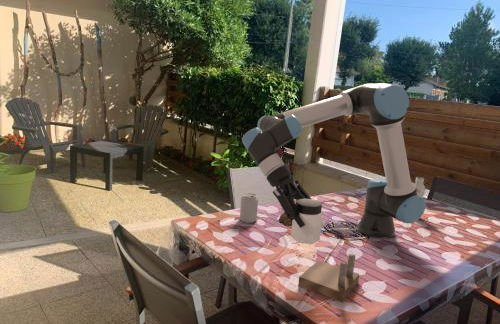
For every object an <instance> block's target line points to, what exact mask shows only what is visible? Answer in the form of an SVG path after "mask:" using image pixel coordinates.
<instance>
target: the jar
mask: <svg viewBox="0 0 500 324" xmlns="http://www.w3.org/2000/svg"><path fill="white" fill-rule="evenodd" d="M295 204H296V206H297V209H298V211H299V214H300V215H302V216H303V217H304V219H305V220H306V221H307V223H308V224H309V225H310V227H311V228H312V230H313V231H314V233H313V234H312V235H310V236H309V237H306V236H305V234H304V233H303V231H302V230H301V228H300V227H299V225H298V224H297V222H296V221H295V220H293V221H292V226H291V232H290V233H291V234H290V235H291V236H290V237H291V238H292V239H293V240H294V241H295V242H297V243H298V244H307V245H314V244H316V243H317V242H319V241H320V240H321V233H322V232H321V230H322V228H321V223H322V221H323V211H322V210H323V209H322V208H323V203H322V202H320V201H319V200H317V199H313V198H311V199H298V200H296V199H295ZM300 215H299V216H300Z"/></svg>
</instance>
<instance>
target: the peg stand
mask: <svg viewBox="0 0 500 324" xmlns="http://www.w3.org/2000/svg"><path fill="white" fill-rule="evenodd" d="M347 257H348V258H347V262H345V261H340V263H339V266H337V265H334V264H330V263H326V262H323V261H320V260H317V261H316V262H315V263H313V264H312V265H311V266H310V267H309V268H307V269H306V270H305V271H304V272H303V273H302V274H300V275H299V277H298V287H301V288H303V289H305V290H309V291H311V292H314V293H317V294H319V295H322V296H324V297H327V298H330V299H333V300H335V301H338V302H340V303H344V301H345V300H346V299H347V297H348V296H349V295H350V294H351V293H352V292H353V290H354V289H355V288H356V286H357V285H358V284H359V279H360V273H357V272H354V270H355V262H356V255H355V254H354V253H349V254H348V256H347Z"/></svg>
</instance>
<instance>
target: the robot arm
mask: <svg viewBox="0 0 500 324" xmlns="http://www.w3.org/2000/svg"><path fill="white" fill-rule="evenodd" d="M409 107H410V98H409V96H408V92H406V90H405V89H404V88H403V87H402V86H399V85H397V84H393V83H365V84H362V85H361V84H360V85H359V86H355V87H352V88H349V89H346V90H343V91H340V92H339V94H338V95H336V96H333V97H329V98H326V99H323V100H320V101H317V102H313V103H309V104H306V105H303V106H300V107H297V108H293V109H290V110H287V111H283V112H280V113H277V114H273V115H269V114H267V115H263V116H261V117H260V118H259V119H258V121H257V127H254V128H252V129H250V130H248V131H247V132H245V134H243V136H242V138H241V142H242V144H243V145H244V147H245V150H246V151H247V153H248V154H249V156H250V157H251V158H252V160H253V161H254V163H255V164H256V166H258V168H259V170H260V172H261V173H262V174H263V175H264V177H266V180H267V182H268V183H269V185H270V186H271V188H274V187H275V188H276V189H274V190H273V191H272V194H273V196H275V198H276V199H277V201H278V203H279V205H280V206H281V209H282V210H283V213H284V212H285V214H286V215H287V217H288V219H290V220H291V221H292V220H295V221H296V222H297V224H298V225H299V227H300V228H301V230H302V231H303V233H304V234H305V236H306V237H309V236H310V235H312V234H313V233H314V231H313V230H312V228H311V227H310V225H309V224H308V223H307V221H306V220H305V219H304V217H303V216H302V215H300V214H299V211H298V209H297V206H296V200H298V199H312V197H311V196H310V195H309V194H308V193H307V191H306V190H305V189H304V188H303V186H302V184H301V183H300V181H299V180H297V179H296V180H295V181H293V180H292V179H291V178H290V177H291V175H292V172H291V171H290V169H289V168H288V167H287V166H286V165H285V163H284V161H283V160H282V158H281V157H280V155H279V154H278V153H277V151H276V150H277V149H278V150H279V148H281V147H282V146H285V145H286V144H288V143H289V142H291V141H293V140H295V139H296V138H297V137H299V136H300V135H302V133H303V128H305V127H309V126H311V125H316V124H318V123H323V122H324V121H327V120H330V119H331V120H332V119H334V118H337V117H341V116H346V117H350V116H353V115H368V117H369V121H370V125H371V126H372V127H374V128H375V129H376V134H377V138H378V143H379V144H378V145H379V150H380V154H381V161H382V165H383V170H384V175H385V178H373V179H370V180H368V182H367V185H366V193H365V201H364V202H365V203H364V210H363V214H362V217H361V218H360V220H359V222H358V225H357V231H359V232H360V233H362V235H363V234H364V235H366V236H368V237H372V238H377V239H390V238H393V237H394V236H395V235H396V228H395V224H394V219H395V220H397V221H399V222H402V223H404V224H414V223H415V222H417V221H418V220H419V219H421V217H422V216H423V215H424V214H425V211H426V206H427V204H426V200H425V199H424V197H423V198H422V197H421V196H419V195H418V194H417V189H416V185H415V184H414V183H415V182H413V181H412V179H411V175H410V169H409V163H408V157H407V151H406V145H405V140H404V134H403V128H402V123H403V121H404V120H405V118H406V117H405V115H406V113H407V111H408V110H407V109H408V108H409ZM289 213H290V214H289ZM299 215H300V216H299ZM325 226H326V223H325V222H324V220H322V223H321V229H322V228H323V227H325Z"/></svg>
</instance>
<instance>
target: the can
mask: <svg viewBox="0 0 500 324" xmlns="http://www.w3.org/2000/svg"><path fill="white" fill-rule="evenodd" d="M258 204H259V197H258V195H257V194H255V193H253V192H250V193H249V192H246V193H243V194H242V196H241V197H240V210H239V220H240V221H241V222H242V223H246V224H254V223H255V222H256V221H257V220H258V219H257V218H258Z"/></svg>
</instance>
